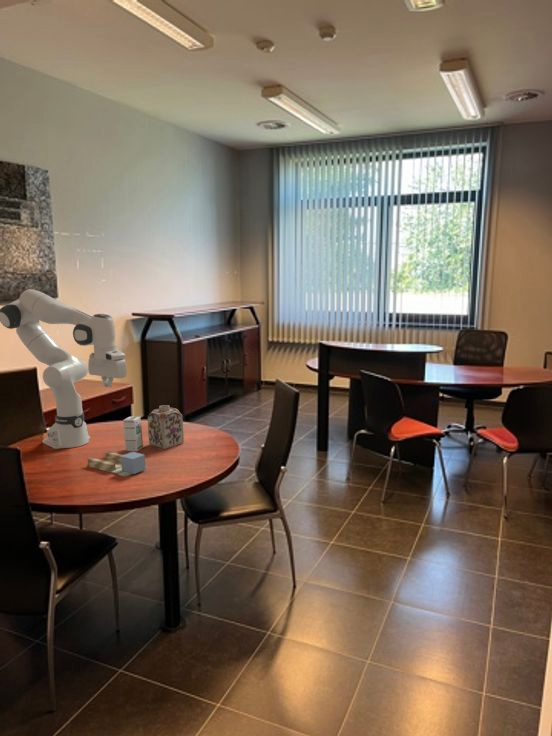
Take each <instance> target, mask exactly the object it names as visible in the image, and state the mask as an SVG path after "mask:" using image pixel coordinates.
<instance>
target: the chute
mask: <svg viewBox="0 0 552 736" xmlns="http://www.w3.org/2000/svg"><path fill="white" fill-rule="evenodd" d="M104 455H105V458H102V459H100V458H94V457H92V456H91V457H88V458H87V467H90V468H93V469H97V470H101V471H104V472H107V473H111V474H114V475H117V476H122V477H128V476H130V475H133V474H132V473H128V472H125V471H122V465H121V456H122V455H123V454H121V453H117V452H113V451H105V452H104ZM146 469H148V466H146Z"/></svg>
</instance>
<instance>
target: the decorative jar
mask: <svg viewBox="0 0 552 736" xmlns="http://www.w3.org/2000/svg"><path fill="white" fill-rule="evenodd" d="M147 433H148V445H150V446H153V447H156V448H159V449H162V450H167V449H170V448H173V447H176V446H179V445H182V444H184V441H185V438H184V437H185V436H184V435H185V433H184V421H183V414H182V412H180V411H179V409H177V408H174V407H170V405H167V404H165V405H159V407H158V408H156V409H153V410H152V411H150V413H149V414H148V416H147Z"/></svg>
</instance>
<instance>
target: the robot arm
mask: <svg viewBox="0 0 552 736" xmlns="http://www.w3.org/2000/svg"><path fill="white" fill-rule="evenodd" d="M40 322H42V323H46V324H48V325H60V324H61V325H63V324H64V325H67V324H68V325H75V326H74V327H73V331H72V336H73V340H74V342H75V343H76V344H77V345H78V346H84V347H85V346H92V345H93V352H91V353H90V354H89V359H88V363H86V361H84V360H83V359H81V358H79V357H76V356H74V355H72V354H71V353H70V352H69V351H67V350H66V349H64V348H62V347H61V346H60V345H59V344H58V342H56V341H55V340H54V338H53V337H52V336H51V335H50V334H49V333H48V332H47V331H46V330H45V329H44V328H43V326H42V325H41V323H40ZM0 323H1V324H2V326H3V327H5V328H6V329H9V330H13V329H15V331H16V334H17V336H18V338H19V339H20V341H21V342H22V343H23V345H24V346H25V347H26V349H27V350H28V351H29V352H30V353H31V354H32V356H34V357H35V359H37V361H38V362H40V363H41V364H45V365H47V367H46V368H45V369H44V370H43V372H42V380H43V383H44V384H45V385H46V386H48V387H49V388H50V390H51V392H52V394H53V396H54V400H55V405H56V414H55V415H54V421H55V423H54V424H52V426H50V427H49V428H48V429H47V438H45V439H42V444H44V445H47V446H49V447H50V448H51V449H53V450H55V449H57V450H59V449H66V448H67V449H69V448H71V449H72V448H77V447H81V446H84V445H87V444H88V443H89V442H90V440H91V435H89V433H88V426H87V423H86V422H85V412H84V411H83V402H82V401H83V400H82V396H81V394H80V393H78V392H77V390H76V387H75V383H77V382H80V381H81V380H83V379H84V378H85V377H86V376H87V375H88V374H89V375H91V376H98V377H101V381H102V382H103V387H104V388H112V387H113V382H114V379H123V378H126V377H127V372H128V371H127V364H126V363H127V362H126V360H125V359H126V353H124V352H122V351H121V350H120V349H118V348H117V344H116V329H115V327H116V325H115V321H114V319H113V317H112V316H111V315H109V314H105V313H95V314H93V315H92V316H91V315H90V314H87V313H85V312H83V311H82V310H79V309H77V308H74V307H72V306H70V305H67V304H65V303H64V302H61V301H59V300H57V299H56V298H54V297H51V296H50V295H48V294H46V293H44V292H41V291H40V290H36V289H33V288H32V289H31V288H30V289H26V290H24V291H23V292H22V293H21V294H20V296H19V298H18V299H16V300H13V301H12V302H10V303H8V304H5V305H3V306H2V307H0Z"/></svg>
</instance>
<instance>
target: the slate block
mask: <svg viewBox="0 0 552 736" xmlns="http://www.w3.org/2000/svg"><path fill="white" fill-rule="evenodd" d="M121 455H122V456H121V465H122V471H125V472H128V473H132V474H131V475H135V474H137V473H140V472H142V471H145V470H146V469H147V468H146V467H147V466H146V455H145V454H144V453H139V452H137V451H130V452H128V453H125V454H121Z"/></svg>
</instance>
